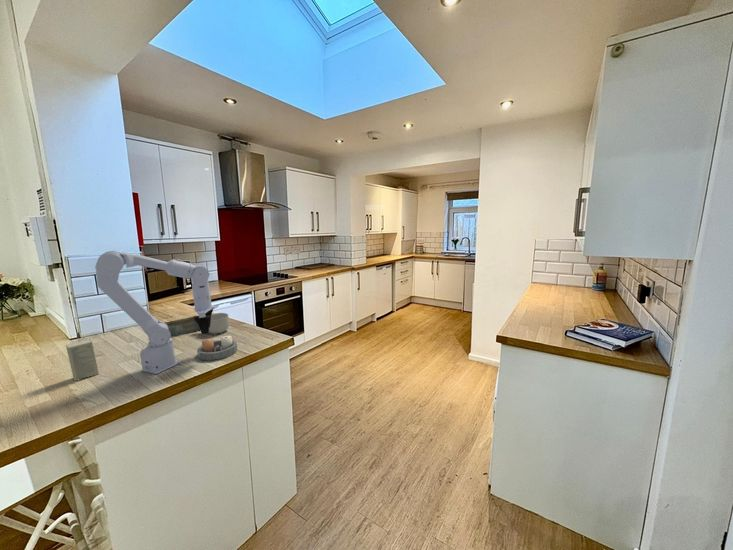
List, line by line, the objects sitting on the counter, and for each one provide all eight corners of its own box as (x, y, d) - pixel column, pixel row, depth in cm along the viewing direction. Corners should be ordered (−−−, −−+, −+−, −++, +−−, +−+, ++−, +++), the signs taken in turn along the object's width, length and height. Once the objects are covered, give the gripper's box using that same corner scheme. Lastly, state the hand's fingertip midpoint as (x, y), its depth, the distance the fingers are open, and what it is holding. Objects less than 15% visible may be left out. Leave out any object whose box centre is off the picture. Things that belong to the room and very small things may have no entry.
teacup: (234, 328, 146) (232, 312, 145) (221, 336, 135) (219, 319, 134) (208, 327, 147) (206, 312, 146) (193, 335, 137) (191, 319, 136)
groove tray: (217, 362, 108) (216, 355, 108) (189, 357, 113) (189, 350, 113) (245, 348, 121) (244, 341, 121) (219, 344, 126) (218, 337, 126)
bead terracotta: (207, 355, 113) (206, 343, 112) (200, 353, 115) (199, 341, 114) (216, 351, 117) (215, 339, 116) (209, 349, 118) (208, 338, 117)
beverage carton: (158, 335, 139) (156, 322, 138) (203, 325, 152) (201, 313, 151) (160, 340, 133) (158, 326, 132) (206, 329, 146) (205, 316, 145)
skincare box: (96, 370, 104) (90, 338, 102) (99, 374, 102) (92, 341, 100) (72, 378, 100) (65, 344, 98) (74, 382, 97) (66, 347, 95)
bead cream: (227, 351, 116) (226, 339, 115) (219, 350, 117) (218, 338, 116) (235, 347, 119) (233, 336, 119) (227, 346, 121) (226, 335, 120)
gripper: (212, 299, 107) (216, 334, 109) (214, 291, 120) (218, 323, 122) (190, 301, 104) (195, 338, 106) (195, 293, 117) (199, 326, 119)
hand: (206, 330), depth 114 cm, fingers open, 7 cm apart
